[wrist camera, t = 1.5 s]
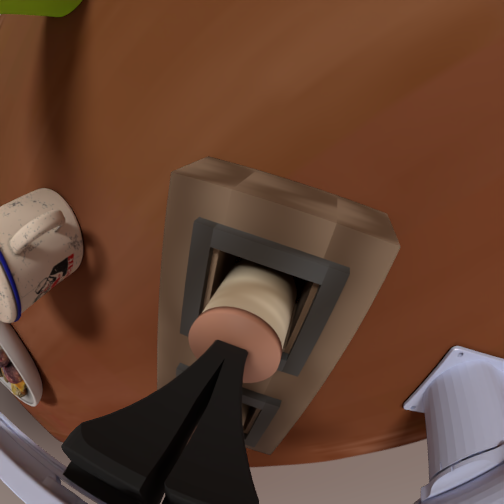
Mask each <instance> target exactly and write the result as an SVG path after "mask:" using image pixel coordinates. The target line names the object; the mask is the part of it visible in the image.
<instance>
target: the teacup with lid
mask: <svg viewBox="0 0 504 504" xmlns="http://www.w3.org/2000/svg"><path fill="white" fill-rule="evenodd" d="M82 257H83V239H82V234H81V230H80V227H79V224H78V221H77V219H76V217H75V215H74V213H73V211H72V209H71V208H70V206H69V205H68V203H67V202H66V201H65V200H64V199H63V198H62V197H61V196H60V195H59V194H58V193H56V192H55V191H53V190H51V189H47V188H41V189H38V190H35V191H33V192H31V193H28V194H26V195H24V196H22V197H20V198H18V199H15V200H13V201H11V202H9V203H7V204H5V205H3V206H1V207H0V321H2V322H5V323H12V322H16V321H18V320H19V318H20V316H21V313H22V312H24V311H25V310H26V309H27V308H28V307H30V306H31V305H32V304H33V303H34V302H36V301H37V300H38V299H39V298H41V297H42V296H43V295H44V294H46V293H47V292H48V291H49V290H51V289H52V288H53V287H54V286H56V285H57V284H58V283H60V282H61V281H62V280H63V279H65V278H66V277H67V276H69V275H70V274H71V273H73V272H74V271H75V270H76V269H77V268H78V267H79V265H80V263H81V261H82Z"/></svg>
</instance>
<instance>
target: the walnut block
mask: <svg viewBox="0 0 504 504" xmlns="http://www.w3.org/2000/svg"><path fill="white" fill-rule="evenodd" d="M399 249H400V244H399V242H398V239H397V237H396V234H395V232H394V229H393V227H392V224H391V222H390V220H389V217H388V215H387V214H386V213H383V212H381V211H378V210H375V209H373V208H370V207H368V206H365V205H362V204H359V203H357V202H354V201H351V200H348V199H346V198H343V197H340V196H337V195H334V194H331V193H328V192H325V191H323V190H320V189H317V188H314V187H311V186H308V185H304V184H301V183H298V182H295V181H292V180H289V179H286V178H282V177H279V176H276V175H273V174H269V173H266V172H263V171H259V170H256V169H252V168H249V167H245V166H242V165H238V164H235V163H231V162H227V161H224V160H220V159H216V158H212V157H206V158H203V159H201V160H198V161H196V162H194V163H191V164H189V165H186V166H184V167H182V168H179V169H177V170H175V171H172V172H171V177H170V185H169V193H168V201H167V209H166V218H165V228H164V238H163V249H162V261H161V275H160V291H159V311H158V343H157V390H159V389H160V388H162V387H163V386H165V385H166V384H168V383H169V382H170V381H172V380H173V379H174V378H176V377H177V376H178V375H180V374H181V373H182V372H184V371H185V370H186V369H187V368H188V367H189V366H191V365H192V364H193V363H194V362H195V361H196V360H197V358H196V357H195V356H194V354H193V352H192V350H191V348H190V345H189V339H188V337H189V330H190V328H191V326H192V325H193V323H194V322H195V320H196V319H197V317H198V316H199V315H200V314H201V313H202V312H203V310H204V309H205V307H206V306H207V304H208V303H209V301H210V300H211V298H212V297H213V295H214V294H215V292H216V291H217V289H218V288H219V286H220V285H221V283H222V282H223V280H224V279H225V277H226V276H227V274H228V273H229V271H230V270H231V268H232V267H233V266H234V265H235V260H236V256H238V257H241V258H244V259H247V260H250V261H252V262H255V263H258V264H261V265H264V266H267V267H270V268H273V269H276V270H279V271H281V272H284V273H287V274H290V275H293V276H296V277H299V278H302V279H305V280H306V283H305V285H304V288H303V290H302V293H301V295H300V298H299V300H298V303H295V305H294V309H293V313H292V316H291V320H290V324H289V327H288V331H287V334H286V338H285V342H284V345H283V349H282V356H281V360H280V363H279V366H278V369H277V370H276V372H275V373H274V374H273V375H272V376H271V377H269V378H267V379H265V380H263V381H260V382H255V383H242V403H244V404H246V405H249V406H250V409H249V412H248V414H247V417H246V420H245V423H244V425H243V432H244V441H245V447H246V448H249V449H252V450H255V451H259V452H262V453H265V454H269V455H271V453H272V452H273V451H274V450H275V448H276V447H277V446H278V445H279V443H280V442H281V441H282V440H283V438H284V437H285V436H286V434H287V433H288V432H289V431H290V429H291V428H292V427H293V425H294V424H295V423H296V421H297V420H298V419H299V417H300V416H301V415H302V413H303V412H304V410H305V409H306V408H307V406H308V405H309V403H310V402H311V401H312V399H313V398H314V396H315V395H316V393H317V392H318V391H319V389H320V388H321V386H322V385H323V383H324V382H325V380H326V379H327V377H328V376H329V374H330V373H331V371H332V370H333V368H334V366H335V365H336V363H337V362H338V360H339V359H340V357H341V355H342V354H343V352H344V351H345V349H346V347H347V346H348V344H349V342H350V341H351V339H352V337H353V336H354V334H355V332H356V331H357V329H358V327H359V325H360V324H361V322H362V320H363V319H364V317H365V315H366V313H367V311H368V310H369V308H370V306H371V304H372V302H373V300H374V299H375V297H376V295H377V293H378V291H379V289H380V287H381V285H382V283H383V282H384V280H385V278H386V276H387V274H388V272H389V270H390V268H391V266H392V264H393V262H394V259H395V257H396V255H397V253H398V251H399Z"/></svg>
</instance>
